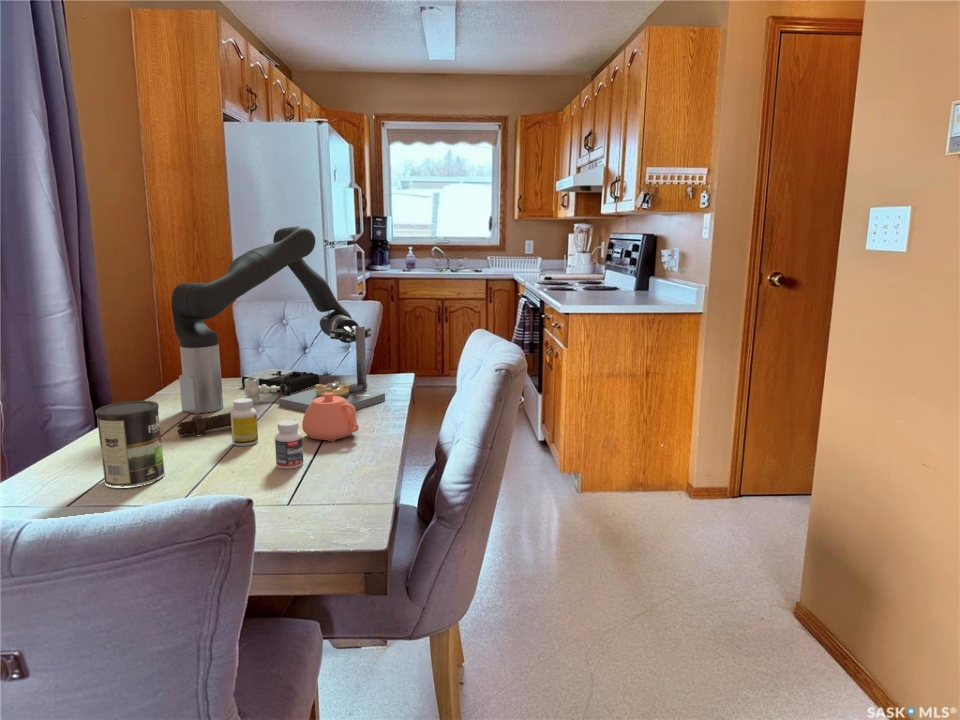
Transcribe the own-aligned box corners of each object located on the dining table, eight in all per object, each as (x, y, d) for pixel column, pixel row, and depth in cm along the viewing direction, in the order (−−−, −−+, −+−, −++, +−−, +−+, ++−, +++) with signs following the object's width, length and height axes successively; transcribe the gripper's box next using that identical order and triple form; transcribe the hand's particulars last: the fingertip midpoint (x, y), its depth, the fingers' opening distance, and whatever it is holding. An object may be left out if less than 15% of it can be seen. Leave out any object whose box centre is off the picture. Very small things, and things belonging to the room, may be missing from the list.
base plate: (333, 417, 161) (333, 408, 161) (279, 405, 172) (279, 397, 171) (385, 400, 178) (384, 392, 177) (333, 390, 188) (333, 383, 188)
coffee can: (169, 466, 127) (162, 398, 124) (159, 485, 117) (152, 412, 115) (111, 471, 124) (103, 402, 121) (97, 492, 114) (87, 416, 112)
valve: (246, 406, 172) (291, 401, 177) (244, 382, 170) (290, 378, 175) (244, 400, 178) (288, 395, 182) (242, 377, 176) (287, 373, 181)
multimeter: (291, 395, 185) (290, 378, 184) (241, 388, 192) (240, 372, 191) (320, 385, 196) (319, 369, 195) (272, 379, 204) (271, 364, 203)
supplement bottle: (262, 443, 141) (259, 400, 139) (237, 448, 138) (234, 404, 136) (252, 437, 145) (249, 395, 143) (228, 442, 142) (225, 399, 140)
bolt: (179, 444, 146) (245, 430, 155) (182, 439, 142) (250, 425, 151) (173, 420, 147) (239, 408, 156) (176, 414, 143) (244, 402, 152)
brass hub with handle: (327, 400, 168) (324, 333, 164) (309, 394, 174) (306, 329, 171) (375, 391, 179) (373, 327, 175) (356, 385, 185) (354, 324, 181)
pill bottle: (288, 471, 125) (286, 428, 123) (270, 466, 127) (268, 423, 126) (309, 463, 129) (307, 421, 127) (291, 458, 132) (289, 417, 130)
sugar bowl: (326, 425, 155) (324, 384, 153) (374, 433, 149) (372, 391, 147) (291, 439, 144) (288, 396, 142) (340, 449, 138) (339, 403, 136)
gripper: (323, 318, 197) (333, 326, 181) (365, 316, 202) (378, 323, 186) (324, 342, 198) (334, 352, 183) (366, 339, 203) (379, 348, 188)
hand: (356, 337), depth 184 cm, fingers closed
